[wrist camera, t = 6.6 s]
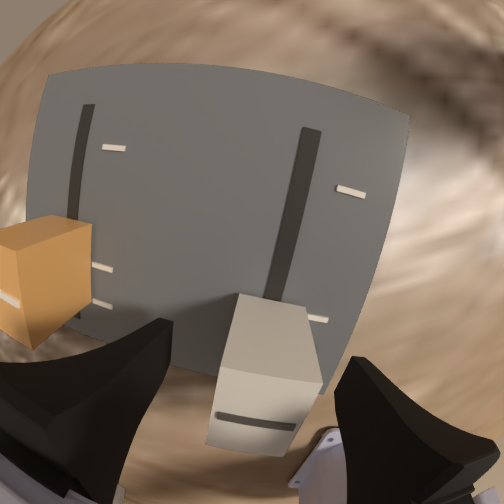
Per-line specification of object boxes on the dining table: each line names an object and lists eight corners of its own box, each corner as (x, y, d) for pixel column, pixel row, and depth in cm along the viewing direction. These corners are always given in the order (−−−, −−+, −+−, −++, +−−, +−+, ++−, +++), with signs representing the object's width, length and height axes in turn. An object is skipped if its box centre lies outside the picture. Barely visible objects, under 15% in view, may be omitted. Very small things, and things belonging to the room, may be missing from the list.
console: (320, 380, 14) (323, 395, 13) (43, 302, 14) (31, 310, 13) (399, 120, 10) (411, 115, 9) (60, 79, 10) (47, 74, 9)
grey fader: (281, 377, 12) (282, 459, 8) (224, 366, 12) (204, 446, 8) (305, 306, 11) (323, 385, 7) (239, 293, 11) (219, 368, 7)
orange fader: (91, 301, 12) (31, 351, 7) (53, 286, 12) (-7, 326, 7) (91, 223, 11) (14, 252, 6) (52, 214, 11) (-22, 236, 6)
